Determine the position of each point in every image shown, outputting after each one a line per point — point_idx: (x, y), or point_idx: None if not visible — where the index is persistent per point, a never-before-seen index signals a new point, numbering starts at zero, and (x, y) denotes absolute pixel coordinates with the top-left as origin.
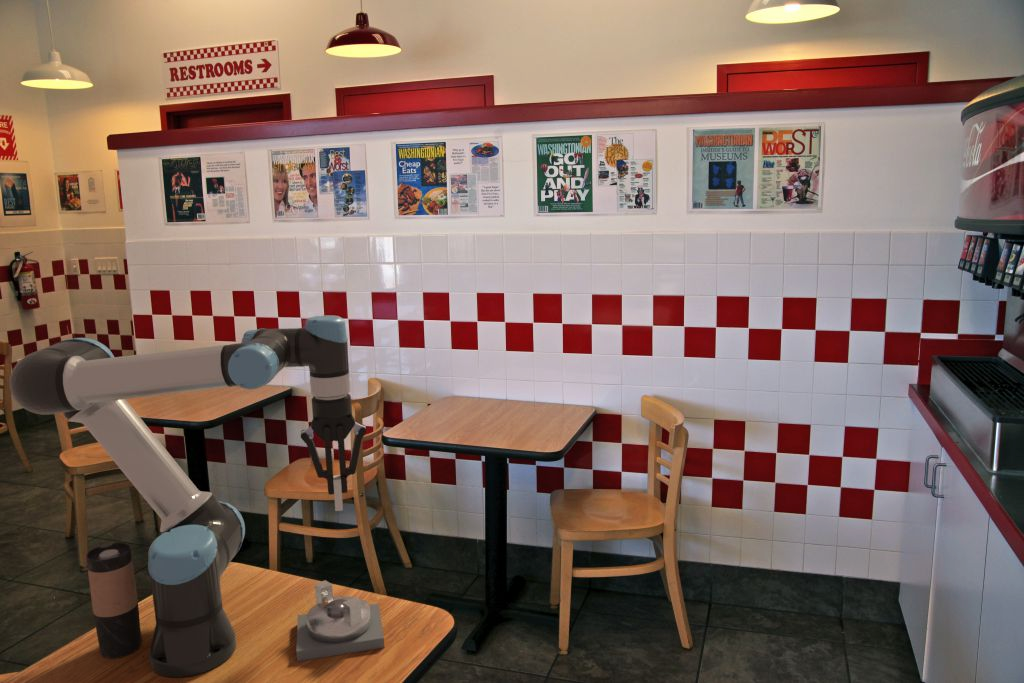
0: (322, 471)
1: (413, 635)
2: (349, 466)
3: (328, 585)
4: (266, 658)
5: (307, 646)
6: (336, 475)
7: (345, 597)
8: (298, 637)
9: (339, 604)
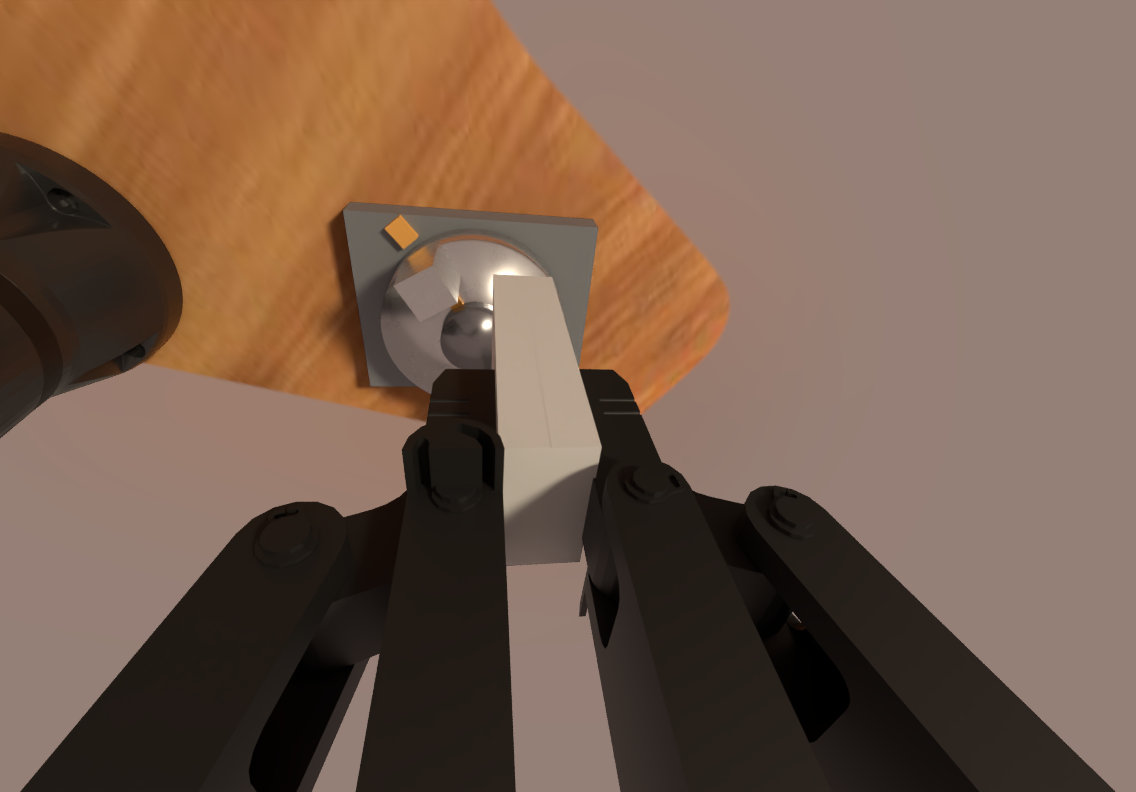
0: (346, 705)
1: (643, 349)
2: (763, 570)
3: (445, 307)
4: (292, 341)
5: (396, 374)
6: (547, 451)
7: (500, 254)
8: (366, 331)
9: (479, 341)
